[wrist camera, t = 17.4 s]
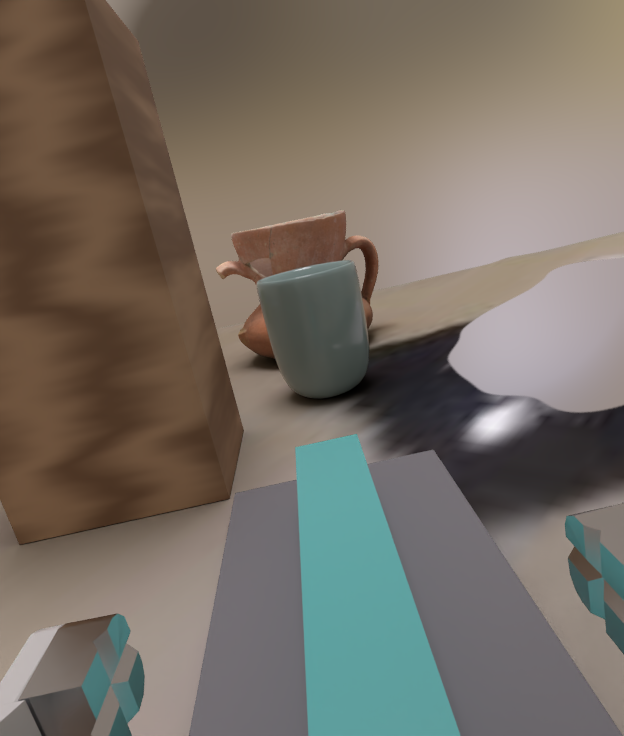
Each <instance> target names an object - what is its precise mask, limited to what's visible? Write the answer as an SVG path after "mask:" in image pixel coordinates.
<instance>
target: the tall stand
mask: <svg viewBox="0 0 624 736" xmlns="http://www.w3.org/2000/svg"><path fill="white" fill-rule="evenodd" d="M243 431H244V430H243V426H242V423H241V419H240V415H239V412H238V408H237V404H236V400H235V397H234V393H233V389H232V386H231V382H230V378H229V375H228V371H227V367H226V364H225V360H224V356H223V352H222V349H221V345H220V341H219V338H218V334H217V330H216V327H215V323H214V319H213V316H212V312H211V308H210V305H209V301H208V297H207V294H206V290H205V286H204V282H203V279H202V275H201V271H200V268H199V264H198V260H197V257H196V253H195V250H194V245H193V242H192V238H191V235H190V231H189V227H188V224H187V220H186V216H185V213H184V209H183V205H182V201H181V197H180V194H179V190H178V187H177V183H176V179H175V176H174V172H173V168H172V164H171V161H170V157H169V153H168V150H167V146H166V142H165V138H164V135H163V131H162V127H161V124H160V120H159V116H158V113H157V109H156V105H155V102H154V98H153V94H152V91H151V87H150V83H149V79H148V76H147V72H146V69H145V65H144V61H143V57H142V54H141V50H140V46H139V42H138V41H137V39H136V38H135V37H134V35H133V34H132V33H131V32H130V31H129V29H128V28H127V27H126V25H125V24H124V23H123V22H122V20H121V19H120V18H119V17H118V15H117V14H116V13H115V12H114V10H113V9H112V8H111V7H110V5H109V4H108V3H107V2H106V0H0V500H1V502H2V505H3V507H4V509H5V512H6V514H7V516H8V519H9V521H10V523H11V526H12V528H13V531H14V533H15V535H16V538H17V540H18V542H19V545H20V544H25V543H29V542H34V541H38V540H43V539H47V538H52V537H57V536H61V535H66V534H70V533H75V532H79V531H84V530H88V529H93V528H98V527H102V526H107V525H111V524H116V523H120V522H125V521H129V520H134V519H139V518H143V517H148V516H152V515H157V514H161V513H166V512H171V511H175V510H180V509H184V508H189V507H193V506H198V505H202V504H207V503H212V502H216V501H221V500H225V499H229V498H230V494H231V489H232V484H233V479H234V474H235V469H236V465H237V460H238V455H239V450H240V445H241V441H242V436H243Z"/></svg>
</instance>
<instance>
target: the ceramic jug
mask: <svg viewBox="0 0 624 736" xmlns="http://www.w3.org/2000/svg"><path fill="white" fill-rule="evenodd" d="M345 234H346V215H345V211H343V210H340V211H336V212H334V213H330V214H322V215H318V216H313V217H308V218H304V219H299V220H293V221H288V222H285V223H280V224H275V225H271V226H266V227H262V228H258V229H252V230H246V231H241V232H236V233H232V234H231V237H232V241H233V244H234V247H235V249H236V252H237V254H238V257H239V261H238V262H236V261H228V262H224V263H222V264H220V265H219V266H218V267H217V268H216V271H217V273H218V274H219V275H220V276H221V278H222V279H224V278H226V277H227V276H229V275H231V274H238V275H241V276H243V277H246V278H249V279H251V280H253V281H254V282H255V284H256V285H257V281H258V280H260V279H263V278H266V277H269V276H272V275H275V274H279V273H282V272H286V271H290V270H294V269H298V268H302V267H307V266H311V265H316V264H322V263H328V262H334V261H342V260H343V259H344V257H345V256H346V255H347V254H348V252H350V251H351V250H353V249H355V248H359V249H361V251H362V252H363V254H364V257H365V263H366V264H365V265H366V273H365V279H364V283H363V288H362V291H361V294H362V300H363V305H364V311H365V317H366V323H367V329H368V328H369V326H370V325H371V322H372V317H373V314H372V309H371V307H370V298H371V295H372V292H373V289H374V286H375V282H376V278H377V274H378V255H377V252H376V249H375V246H374V244H373V243H372V242H371V241H370V240H369V239H368V238H366V237H362V236H352V237H349V238H348V239H346V240H345ZM238 336H239V339H240V341H241V342H242V343H243V344H244V345H245V346H247V347H248V348H249V349H251V350H252V351H253V352H255V353H257V354H259V355H262V356H265V357H269V358H275V357H274V354H273V351H272V347H271V344H270V341H269V337H268V333H267V329H266V326H265V322H264V318H263V313H262V309H261V305H259V306H258V307H257V308H256V309H255V311H254V312H253V313H252V314H251V315H250V316H249V318H248V319H247V320H246V322H245V324H244V327H243V328H242V329H241V330H240V332H239V334H238Z"/></svg>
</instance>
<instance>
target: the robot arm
mask: <svg viewBox="0 0 624 736" xmlns="http://www.w3.org/2000/svg"><path fill="white" fill-rule="evenodd" d="M565 531H566V537H567V538H568V539H569V540H570V542H571V543H572V544H573V545H574V546H575V547H574V548H573V550H572V552H571V554H570V555H569V557H568V562H569V569H570V575H571V578H572V581H573V584H574V587H575V589H576V591H577V593H578V595H579V597H580V598H581V600H582V602H583V603H584V605H585V606H586V607H587V608H588V610H589V611H590V612H591V613H592V614H595V615H597V616H599V617H601V618H603V619H605V622H606V633H607V634H608V635H609V636H610V638H611V639H612V640H613V641H614V643H615V644H616V645H617V646H618V648H619V649H620V650H621V651H622V653H623V654H624V502H622V504H618V505H614V506H609V507H605V508H600V509H596V510H591V511H587V512H583V513H578V514H574V515H569V516H567V517H566V522H565ZM129 634H130V629H129V627H128V624H127V622H126V620H125V617H124V616H122V615H120V614H113V615H108V616H103V617H98V618H92V619H87V620H82V621H77V622H72V623H67V624H65V625H57V626H53V627H48V628H43V629H39V630H37V631H36V632H34V633H32V634H31V635H30V637H29V638H28V640H27V641H26V643H25V645H24V646H23V648H22V649H21V651H20V653H19V654H18V656H17V657H16V659H15V660H14V662H13V664H12V665H11V667H10V668H9V670H8V671H7V673H6V675H5V676H4V678H3V679H2V681H1V683H0V736H132V735H131V732H130V730H129V727H128V725H127V723H128V722H129V721H130V720H131V719H132V718H133V717H134V716H135V714H136V713H137V712H138V711H139V709H140V706H141V702H142V698H143V695H144V677H145V676H144V670H143V664H142V661H141V658H140V655H139V652H138V651H137V650H136V649H134V648H133V647H131V646H130V645H128V644H127V643H126V642H127V639H128V637H129Z"/></svg>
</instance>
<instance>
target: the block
mask: <svg viewBox="0 0 624 736" xmlns="http://www.w3.org/2000/svg"><path fill="white" fill-rule="evenodd" d="M295 449H296V472H297V494H298V516H299V538H300V560H301V582H302V605H303V627H304V649H305V671H306V693H307V715H308V736H460V733H459V730H458V727H457V724H456V721H455V718H454V715H453V712H452V709H451V707H450V704H449V701H448V698H447V695H446V692H445V689H444V686H443V683H442V680H441V677H440V675H439V672H438V669H437V666H436V663H435V660H434V657H433V654H432V651H431V648H430V646H429V643H428V640H427V637H426V634H425V631H424V628H423V625H422V622H421V619H420V616H419V614H418V611H417V608H416V605H415V602H414V599H413V596H412V593H411V590H410V587H409V584H408V582H407V579H406V576H405V573H404V570H403V567H402V564H401V561H400V558H399V555H398V553H397V550H396V547H395V544H394V541H393V538H392V535H391V532H390V529H389V526H388V523H387V521H386V518H385V515H384V512H383V509H382V506H381V503H380V500H379V497H378V494H377V492H376V489H375V486H374V483H373V480H372V477H371V474H370V471H369V468H368V465H367V462H366V460H365V457H364V454H363V451H362V448H361V445H360V442H359V439H358V436H357V434H354V435H350V436H345V437H340V438H336V439H331V440H327V441H322V442H318V443H313V444H309V445H304V446H300V447H295Z"/></svg>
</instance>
